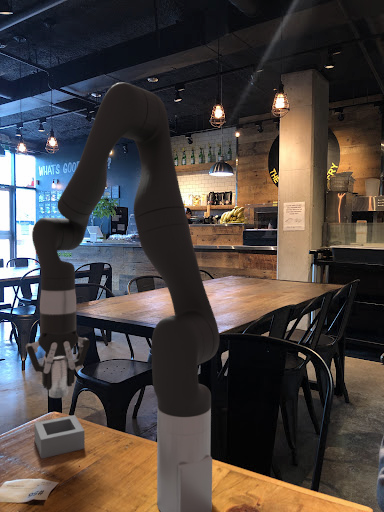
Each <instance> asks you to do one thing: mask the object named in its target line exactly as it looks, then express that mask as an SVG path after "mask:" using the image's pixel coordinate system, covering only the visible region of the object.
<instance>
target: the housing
mask: <svg viewBox="0 0 384 512" xmlns="http://www.w3.org/2000/svg"><path fill="white" fill-rule="evenodd" d="M33 424H34V425H33V426H34V427H33V428H34V442H35V446H36V447H37V450H38V454H39V456H40V460H42V459H45V458H49V457H54V456H58V455H63V454H67V453H72V452H76V451H81V450H84V449H85V445H86V444H85V429H84V428H83V426H82V425H81V422H80V421H79V419H78V418H77V416H76V415H75V414H73V415H68V416H63V417H57V418H52V419H47V420H41V421H37V422H34V423H33Z"/></svg>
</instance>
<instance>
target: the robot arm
mask: <svg viewBox="0 0 384 512" xmlns="http://www.w3.org/2000/svg"><path fill="white" fill-rule="evenodd" d="M121 138H124V139H129V140H132V141H134V143H135V145H136V148H137V151H138V155H139V160H140V165H141V166H140V167H141V174H140V175H141V176H140V180H139V184H138V185H137V190H136V193H135V197H134V201H133V218H134V221H135V226H136V231H137V236H138V240H139V242H140V247H141V248H142V250H143V252H144V254H145V256H146V257H147V259H148V260H149V261H150V263H151V265H152V266H153V268H154V269H155V270H156V271H157V273H158V275H160V277H161V279H162V280H163V282H164V284H165V285H166V287H167V290H168V292H169V296H170V299H171V302H172V307H173V312H174V315H170V316H168V317H165V318H163V319H161V320H159V322H158V323H157V324H156V326H155V327H154V329H153V332H152V337H151V345H150V346H151V347H150V350H151V352H150V353H151V370H152V371H151V372H152V386H153V390H154V393H155V396H156V399H157V418H156V419H157V421H156V423H157V424H156V427H157V429H156V431H157V433H156V434H157V436H156V437H157V438H156V439H157V441H156V442H157V443H156V451H157V453H156V456H157V457H156V469H157V470H156V475H157V476H156V487H157V488H156V491H157V492H156V505H157V508H158V510H159V512H212V510H213V509H212V508H213V457H212V456H211V431H212V430H211V428H212V427H211V425H212V424H211V423H212V422H211V421H212V416H211V415H212V413H211V412H212V411H211V410H212V394H211V391H210V389H209V387H207V386H206V385H204V384H201V383H199V373H198V371H199V369H198V367H199V366H198V365H200V364H204V363H206V362H207V361H209V360H211V359H212V358H213V357H215V355H216V354H217V351H219V348H220V347H219V346H220V332H219V327H218V322H217V320H216V316H215V314H214V311H213V308H212V306H211V302H210V300H209V297H208V294H207V291H206V289H205V286H204V282H203V280H202V275H201V271H200V266H199V263H198V258H197V254H196V250H195V248H194V243H193V239H192V234H191V233H192V232H191V229H190V223H189V221H188V217H187V211H186V208H185V207H186V206H185V204H184V201H183V196H182V192H181V190H180V184H179V180H178V179H179V178H178V176H177V175H178V174H177V169H176V165H175V160H174V155H173V149H172V147H173V146H172V141H171V140H172V139H171V133H170V124H169V118H168V113H167V109H166V107H165V104H164V102H163V100H162V99H161V98H160V97H159V96H158V95H157V94H155V93H153V92H151V91H148V90H146V89H145V88H141V87H139V86H137V85H134V84H132V83H129V82H123V81H122V82H117V83H115V84H113V85H112V86H111V87H110V88H109V89H108V90H107V92H106V93H105V95H104V96H103V98H102V100H101V103H100V105H99V108H98V110H97V113H96V115H95V118H94V121H93V123H92V127H91V129H90V132H89V134H88V137H87V140H86V143H85V145H84V148H83V151H82V154H81V157H80V160H79V161H78V164H77V165H76V168H75V170H74V173H73V174H72V176H71V178H70V180H69V182H68V183H67V185H66V186H65V188H64V189H63V191H62V193H61V195H60V197H59V199H58V200H57V211H58V212H59V214H60V215H61V216H62V217H64V218H61V217H42V218H40V219H38V220H37V221H36V222H35V224H34V226H33V229H32V231H31V232H32V233H31V236H32V243H33V247H34V251H35V253H36V257H37V260H38V265H39V269H40V272H41V273H40V274H41V275H40V276H41V279H40V280H41V282H40V283H41V284H40V285H41V286H40V287H41V288H40V289H41V290H40V292H41V293H40V298H39V299H40V301H39V304H40V305H39V315H40V316H39V317H40V319H39V325H40V326H39V328H40V332H39V337H38V339H37V341H34V342H32V343H26V344H25V347H24V348H25V350H26V352H27V355H28V357H29V360H30V363H31V365H32V368H33V369H34V371H35V372H36V373H37V372H41V376H42V377H41V381H42V383H41V384H42V386H43V389H46V391H49V390H50V372H49V371H50V367H51V363H52V362H53V358H54V357H57V356H65V357H66V358H67V360H68V388H69V387H72V385H73V384H75V375H76V374H75V372H76V371H75V370H76V368H78V367H82V366H83V365H84V363H85V359H86V356H87V354H88V350H89V347H90V345H91V340H90V339H89V338H87V337H80V336H79V335H78V334H77V296H76V269H75V265H74V263H72V262H69V261H66V260H65V261H64V260H61V258H60V255H59V254H58V252H59V251H71V250H73V251H74V250H75V249H76V248H78V247H79V246H80V245H81V244H82V243H83V241H84V239H85V235H86V231H87V228H88V225H89V220H90V216H91V215H92V213H93V212H94V211H95V209H96V207H97V205H99V204H98V203H100V201H101V199H102V198H103V196H104V193H105V191H106V188H107V187H106V186H107V181H108V180H107V179H108V176H107V175H108V172H107V171H108V161H109V157H110V155H111V152H112V150H113V149H114V148H115V146H116V144H118V142H119V141H120V140H121ZM77 343H78V344H77ZM76 344H77V345H78V347H79V348H78V351H77V354H76V358H75V359H74V356H73V352H72V350H73V349H74V348H75V346H76ZM39 347H40V348H41V349H42V351H44V356H43V362H42V364H41V363H39V360H38V357H37V353H38V352H39Z"/></svg>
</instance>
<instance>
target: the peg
mask: <svg viewBox="0 0 384 512" xmlns="http://www.w3.org/2000/svg"><path fill="white" fill-rule="evenodd" d="M49 372H50V390H48V396H49V398H53V399H60V398H64V397H66V396H68V395H69V387H68V360H67V358H66V357H65V356H57V357H54V358H53V362H52V363H51V367H50V371H49Z"/></svg>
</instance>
